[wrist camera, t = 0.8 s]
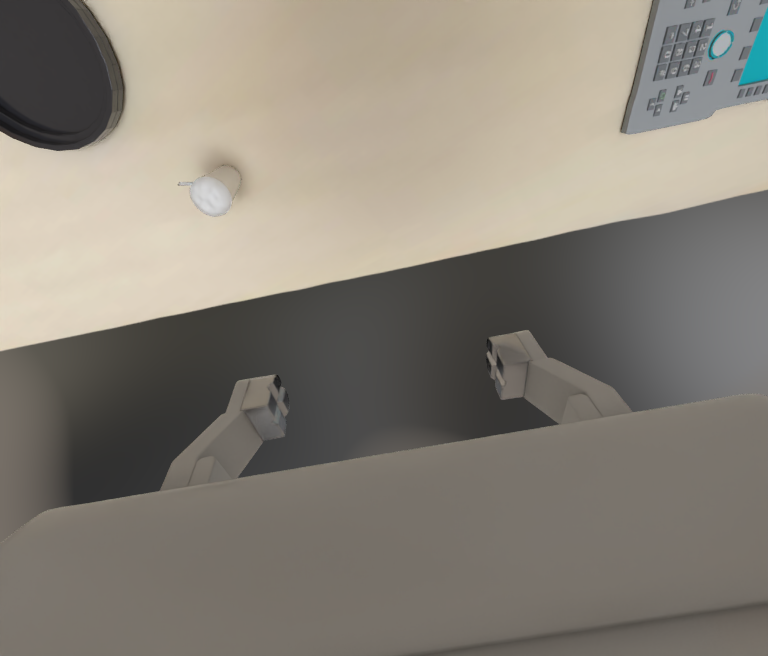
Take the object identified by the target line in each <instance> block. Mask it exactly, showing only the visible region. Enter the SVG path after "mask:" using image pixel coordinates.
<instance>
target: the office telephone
mask: <svg viewBox="0 0 768 656" xmlns="http://www.w3.org/2000/svg"><path fill="white" fill-rule="evenodd" d="M765 99H768V0H654V1H653V5H652V10H651V14H650V18H649V22H648V27H647V31H646V35H645V39H644V44H643V48H642V52H641V56H640V61H639V65H638V69H637V73H636V77H635V81H634V86H633V90H632V93H631V97H630V99H629V102H628V106H627V110H626V114H625V118H624V123H623V127H622V131H621V132H622V133H625V134H636V133H641V132H646V131H651V130H655V129H660V128H665V127H670V126H675V125H680V124H685V123H690V122H694V121H699V120H702V119H706V118H708V117H710V116H711V115H712V114H713V113H714V112H715V111H716V110H719V109H722V108H726V107H731V106H735V105H740V104H744V103H750V102H755V101H760V100H765Z"/></svg>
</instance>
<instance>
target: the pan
mask: <svg viewBox="0 0 768 656" xmlns="http://www.w3.org/2000/svg"><path fill="white" fill-rule="evenodd" d="M122 101H123V85H122V80H121V75H120V71H119V66H118V63H117V61H116V58H115V56H114V54H113V51H112V49H111V47H110V44H109V42H108V40H107V37H106V36H105V34H104V33H103V31H102V30H101V28H100V27H99V25H98V23H97V22H96V20H95V19H94V17H93V16H92V14H91V13H90V11H89V10H88V9H87V8H86V7H85V6H84V5H83V3H82V2H81V1H80V0H0V131H1V132H3V133H5V134H6V135H8V136H10V137H12V138H14V139H16V140H19V141H21V142H24V143H27V144H29V145H32V146H34V147H38V148H44V149H50V150H56V151H63V150H75V149H80V148H82V147H85V146H88V145H90V144H93V143H95V142H97V141H99V140H102V139H104V138H105V137H106V136H107V135H108V134H109V133H110V132H111V131H112V130H113V129H114V127H115V126H116V124H117V122H118V119H119V117H120V114H121V111H122Z"/></svg>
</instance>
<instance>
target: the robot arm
mask: <svg viewBox="0 0 768 656" xmlns="http://www.w3.org/2000/svg"><path fill="white" fill-rule="evenodd" d="M487 347H488V349H489V352H488V353H487V354H486V360H487V368H488V371H489V374H490V376H491V378H492V379H494V380H495V387H496V389H497V391H498V394H499V395H500V398H501V399H502V400H504V399H511V398H517V397H524V398H525V399H527V400H528V401H529V402H531V403H532V404H533V405H535V406H536V407H537V408H539V409H540V410H541V411H543V412H544V413H545V414H547V415H548V416H549V417H551V418H552V419H553V420H555V421H556V422H557V423H559V424H560V425H555V426H549V427H543V428H537V429H531V430H525V431H519V432H514V433H507V434H501V435H495V436H489V437H483V438H477V439H471V440H466V441H459V442H453V443H447V444H441V445H435V446H430V447H424V448H417V449H411V450H405V451H399V452H393V453H387V454H381V455H375V456H369V457H363V458H357V459H351V460H345V461H339V462H333V463H327V464H321V465H315V466H309V467H303V468H297V469H291V470H285V471H279V472H274V473H267V474H261V475H255V476H249V477H243V478H237V477H238V476H239V475H240V473H241V472H242V470H243V469H244V467H245V466H246V465H247V463H248V462H249V461H250V459H251V458H252V457H253V455H254V454H255V452H256V451H257V450H258V448H259V447H260V445H261V444H262V442H263V441H264V440H269V439H274V438H279V437H284V436H285V430H286V424H287V421H286V420H285V418H284V417H285V416H286V415H287V414H288V411H289V398H288V394H287V392H286V390H285V389H284V388H282V387H280V386H281V380H280V378H279V376H278V375H271V376H265V377H257V378H251V379H246V380H240V381H238V382H237V383H236V385H235V387H234V390H233V393H232V396H231V399H230V402H229V405H228V408H227V411H226V414H222V415H221V416H220V417H219V418H218V419H216V421H214V422H213V423H212V424H211V425H210V426H209V427H208V428H207V429H206V430H205V431H204V432H203V433H202V434H201V435H200V436H199V437H198V438H197V439H196V440H195V441H194V442H192V443H191V444H190V445H189V446H188V447H187V448H186V449H185V450H184V451H183V452H182V453H181V454H180V455H179V456H178V457H177V458H176V459H175V460H174V461H173V462H172V464H171V466H170V469H169V471H168V473H167V476H166V478H165V481H164V483H163V485H162V487H161V489H160V491H159V492H153V493H147V494H141V495H135V496H129V497H123V498H118V499H111V500H105V501H99V502H93V503H87V504H80V505H74V506H67V507H60V508H56V509H51V510H48V511H45V512H43V513H41V514H39V515H38V516H36V517H35V518H33V519H32V520H30V521H29V522H28V523H26V524H25V525H24V526H22V527H21V528H19V529H18V530H17V531H16V532H14V533H13V534H12V535H10V536H9V537H8V538H7V539H5V540H4V541H3V542H2V543H0V656H768V396H765V395H762V394H742V395H734V396H729V397H724V398H718V399H712V400H705V401H700V402H693V403H687V404H682V405H676V406H669V407H663V408H658V409H651V410H645V411H639V412H632V411H631V410H630V408H629V407H628V406H627V404H626V403H625V402H624V401H623V400H622V398H621V397H620V396H619V395H618V393H617V392H616V391H615V390H614V388H612V387H611V386H609V385H606V384H604V383H602V382H600V381H598V380H596V379H594V378H592V377H590V376H588V375H586V374H584V373H582V372H580V371H578V370H576V369H574V368H572V367H570V366H567V365H565V364H564V363H561V362H559V361H557V360H555V359H553V358H547V356H546V355H545V354H544V352H543V351H542V349H541V348H540V346H539V345H538V343H537V342H536V340H535V339H534V337H533V336H532V334H531V333H530V331H528V330H526V331H521V332H515V333H511V334H505V335H500V336H494V337H489V338H488V339H487Z"/></svg>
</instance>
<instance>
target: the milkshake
mask: <svg viewBox="0 0 768 656" xmlns="http://www.w3.org/2000/svg"><path fill="white" fill-rule="evenodd" d="M241 180H242V179H241V176H240V174H239V172H238V171H237V170H236V169H235V168H233V167H232V166H228V165H222V166H221V167H219V168H217V169H215V170H214V171H212V172H210V173H208V174H206V175H204V176H202V177H199V178H197V179H196V180H195V181H194V182H179V184H178V185H191V187H190V197H191V199H192V201H193V203H194V205H195V206H196V207H197V208H198V209H199V210H200V211H202V212H203V213H204V214H206V215H209V216H212V217H216V216H221V215H224V214H226V213H227V212H228V211H229V210H230V208H231V205H232V203H233V200H234V198H235V196H236V194H237V192H238V190H239V188H240V184H241Z"/></svg>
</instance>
